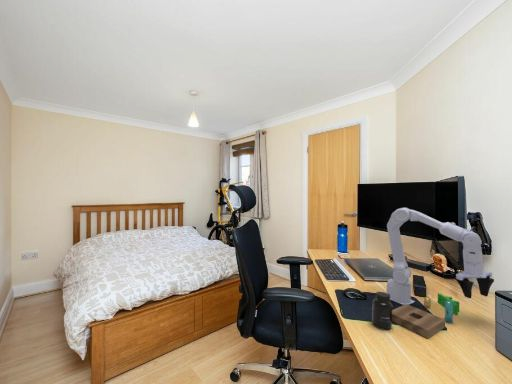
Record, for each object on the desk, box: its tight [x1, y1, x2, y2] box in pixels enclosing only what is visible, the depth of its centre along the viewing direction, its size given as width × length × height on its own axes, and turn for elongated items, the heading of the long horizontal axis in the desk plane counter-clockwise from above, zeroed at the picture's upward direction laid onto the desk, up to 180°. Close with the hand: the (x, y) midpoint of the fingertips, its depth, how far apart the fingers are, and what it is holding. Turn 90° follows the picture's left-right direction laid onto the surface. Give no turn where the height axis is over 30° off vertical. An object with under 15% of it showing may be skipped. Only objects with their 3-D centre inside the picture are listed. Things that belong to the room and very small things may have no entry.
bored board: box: [392, 304, 446, 340], centre depth 92 cm, size 14×14×3 cm
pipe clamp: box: [437, 293, 460, 316], centre depth 104 cm, size 11×4×5 cm, turn 173°
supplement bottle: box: [371, 291, 394, 331], centre depth 90 cm, size 7×7×12 cm
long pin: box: [444, 301, 454, 324], centre depth 93 cm, size 2×2×8 cm
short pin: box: [423, 296, 432, 310], centre depth 105 cm, size 2×2×4 cm
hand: (475, 296), depth 94 cm, fingers open, 7 cm apart
